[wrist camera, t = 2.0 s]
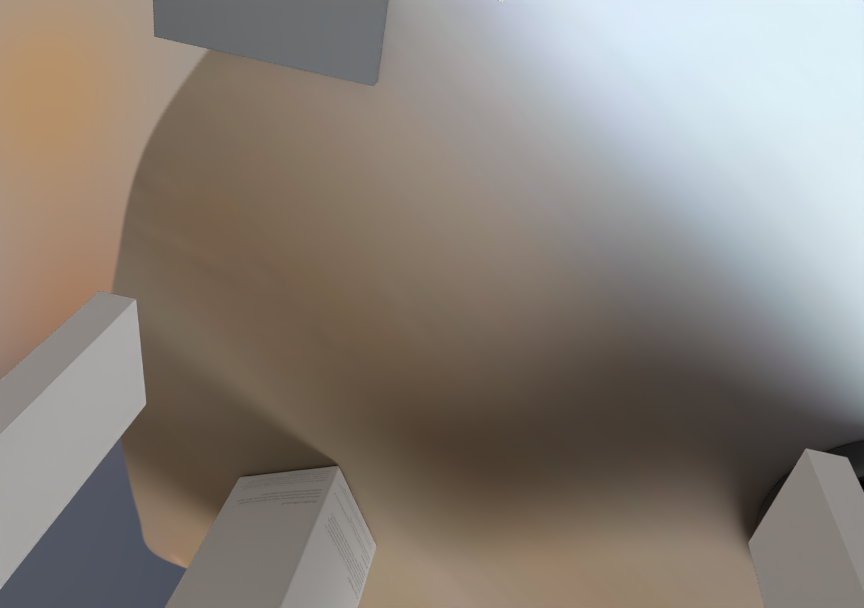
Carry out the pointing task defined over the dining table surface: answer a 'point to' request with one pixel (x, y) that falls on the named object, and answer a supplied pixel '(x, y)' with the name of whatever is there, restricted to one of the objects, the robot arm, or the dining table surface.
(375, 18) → the slate mat
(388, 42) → the dining table surface
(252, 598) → the supplement box
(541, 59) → the dining table surface
